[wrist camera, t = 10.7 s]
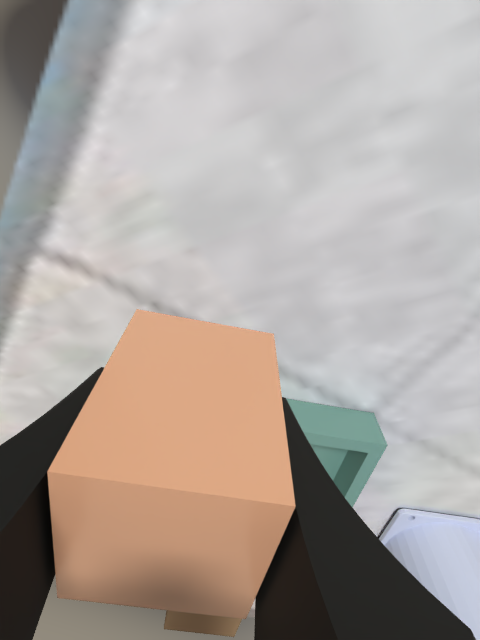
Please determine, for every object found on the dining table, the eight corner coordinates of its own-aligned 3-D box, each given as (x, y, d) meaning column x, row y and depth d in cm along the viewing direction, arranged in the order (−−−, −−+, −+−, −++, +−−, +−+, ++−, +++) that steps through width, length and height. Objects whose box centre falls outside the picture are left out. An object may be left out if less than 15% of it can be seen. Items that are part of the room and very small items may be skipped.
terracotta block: (273, 333, 12) (295, 506, 7) (245, 430, 14) (245, 619, 9) (136, 309, 12) (47, 471, 6) (129, 412, 14) (57, 597, 8)
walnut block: (248, 504, 26) (249, 602, 21) (236, 539, 28) (234, 636, 23) (187, 495, 26) (172, 593, 21) (178, 532, 28) (163, 629, 23)
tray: (373, 413, 23) (387, 445, 20) (301, 556, 30) (305, 590, 28) (109, 369, 21) (93, 398, 19) (103, 530, 29) (92, 564, 27)
